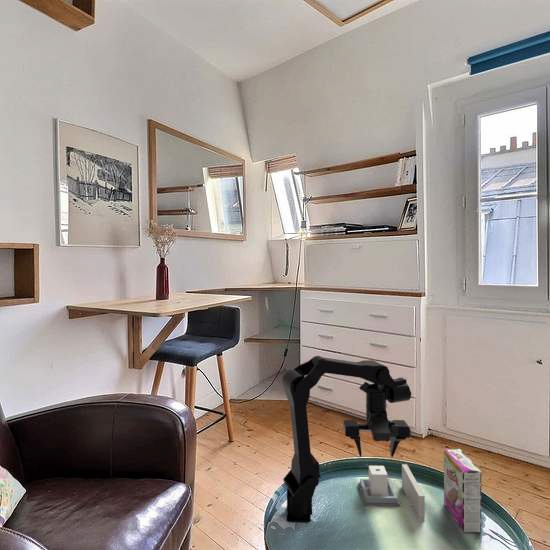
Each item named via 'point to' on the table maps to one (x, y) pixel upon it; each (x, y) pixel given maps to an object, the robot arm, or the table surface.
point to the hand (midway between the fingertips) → (376, 456)
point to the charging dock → (378, 500)
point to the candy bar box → (462, 490)
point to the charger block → (378, 481)
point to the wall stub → (413, 492)
